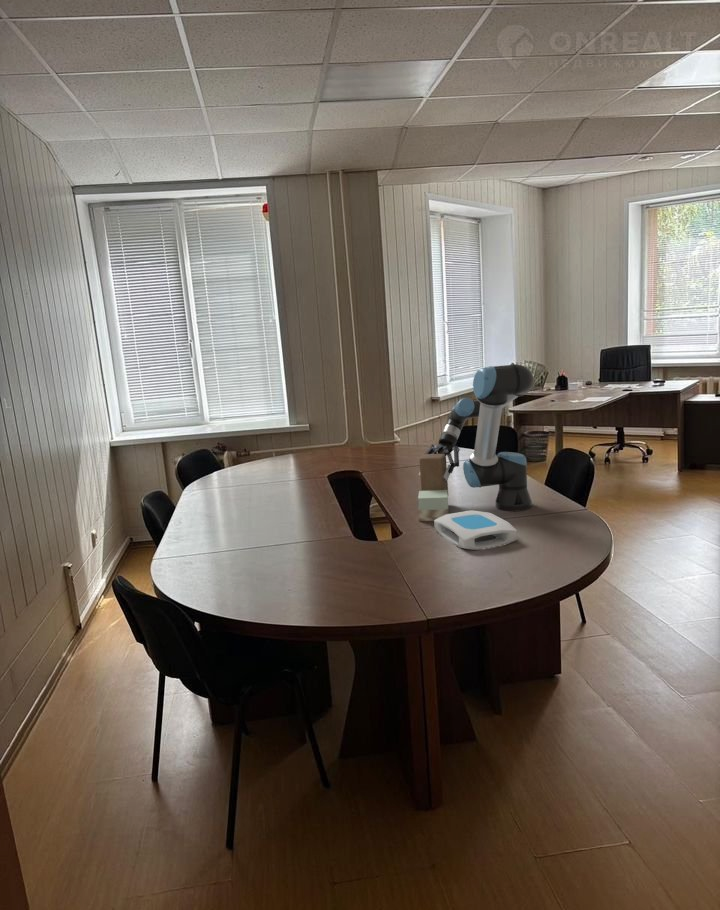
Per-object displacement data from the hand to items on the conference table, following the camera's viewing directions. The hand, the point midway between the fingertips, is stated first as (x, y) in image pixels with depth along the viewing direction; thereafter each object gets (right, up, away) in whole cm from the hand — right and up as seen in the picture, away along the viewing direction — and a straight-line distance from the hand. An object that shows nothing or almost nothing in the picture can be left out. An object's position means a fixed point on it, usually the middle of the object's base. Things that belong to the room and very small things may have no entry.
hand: (432, 477), depth 289 cm
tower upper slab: (-1, -11, -12) cm, 16 cm away
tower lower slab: (-1, -16, -11) cm, 19 cm away
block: (+2, -10, +3) cm, 11 cm away
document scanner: (+11, -21, -40) cm, 46 cm away
